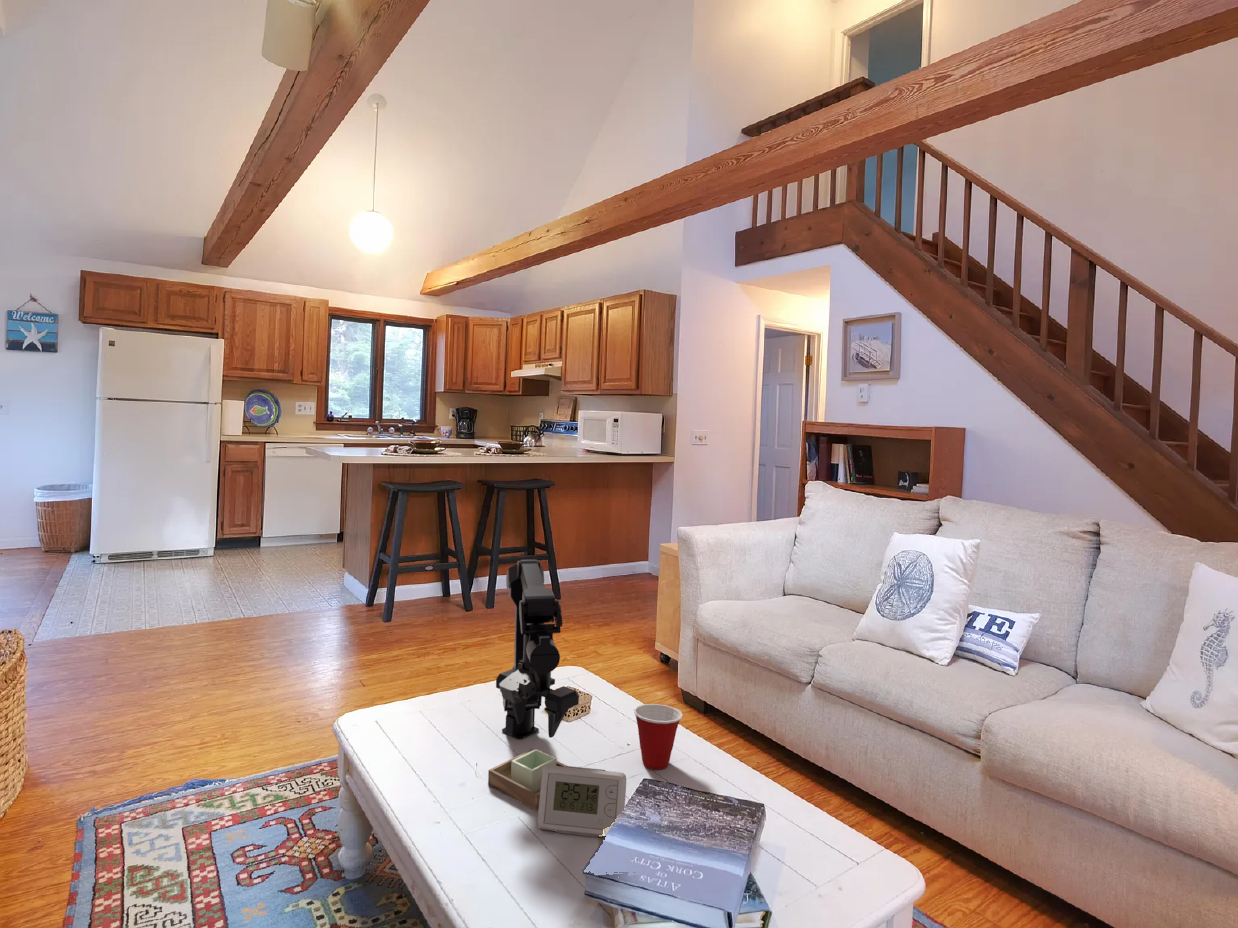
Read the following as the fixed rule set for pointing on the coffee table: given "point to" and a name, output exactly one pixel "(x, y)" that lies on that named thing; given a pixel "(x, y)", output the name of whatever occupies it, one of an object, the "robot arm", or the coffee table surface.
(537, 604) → the robot arm
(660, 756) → the plastic cup
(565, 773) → the digital clock
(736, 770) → the coffee table surface
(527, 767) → the small crate
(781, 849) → the coffee table surface
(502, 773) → the big crate
